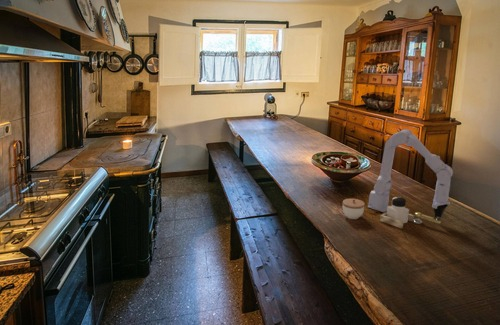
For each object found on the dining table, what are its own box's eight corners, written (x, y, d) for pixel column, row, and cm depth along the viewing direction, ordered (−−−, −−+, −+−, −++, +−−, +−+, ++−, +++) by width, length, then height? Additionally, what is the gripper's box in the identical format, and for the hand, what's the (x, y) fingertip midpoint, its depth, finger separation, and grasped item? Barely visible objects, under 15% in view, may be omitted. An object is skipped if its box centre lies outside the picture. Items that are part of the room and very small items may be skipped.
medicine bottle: (407, 222, 168) (410, 199, 165) (396, 225, 166) (399, 202, 162) (396, 216, 175) (399, 194, 171) (385, 219, 172) (388, 196, 169)
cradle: (379, 220, 170) (380, 215, 170) (391, 214, 178) (392, 208, 177) (401, 228, 162) (402, 222, 162) (413, 220, 170) (413, 215, 169)
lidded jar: (337, 216, 175) (338, 199, 173) (348, 210, 183) (349, 193, 180) (356, 223, 168) (358, 205, 166) (367, 216, 175) (369, 199, 173)
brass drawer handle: (413, 216, 169) (414, 211, 168) (416, 214, 170) (416, 209, 170) (438, 224, 160) (439, 218, 159) (441, 222, 162) (442, 216, 161)
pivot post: (410, 221, 169) (411, 217, 169) (414, 219, 172) (415, 214, 171) (419, 224, 166) (420, 220, 166) (423, 221, 169) (424, 217, 168)
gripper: (445, 197, 156) (440, 225, 160) (456, 190, 165) (452, 216, 169) (429, 193, 161) (425, 220, 165) (441, 186, 170) (437, 211, 174)
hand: (437, 217), depth 167 cm, fingers closed
